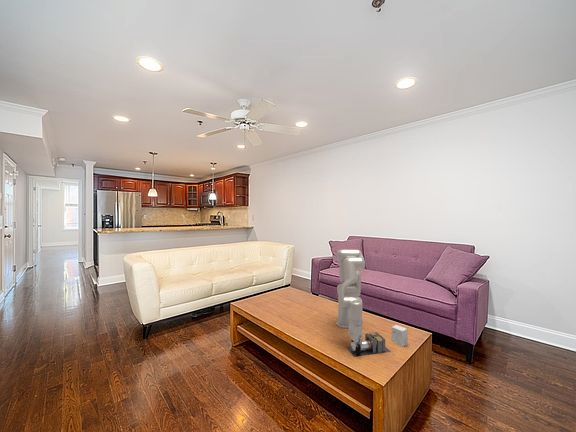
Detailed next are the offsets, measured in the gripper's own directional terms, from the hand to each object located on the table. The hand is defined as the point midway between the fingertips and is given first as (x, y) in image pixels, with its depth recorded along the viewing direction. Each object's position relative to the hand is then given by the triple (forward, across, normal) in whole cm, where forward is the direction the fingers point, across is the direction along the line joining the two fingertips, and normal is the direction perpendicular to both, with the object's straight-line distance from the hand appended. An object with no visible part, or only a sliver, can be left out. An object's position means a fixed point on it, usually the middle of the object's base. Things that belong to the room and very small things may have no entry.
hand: (355, 350), depth 159 cm
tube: (0, 0, +6) cm, 7 cm away
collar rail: (+1, 0, +8) cm, 9 cm away
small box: (+2, -3, +33) cm, 33 cm away
